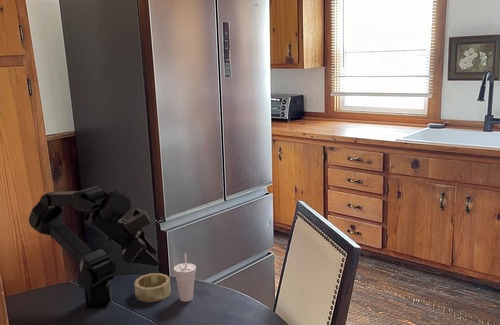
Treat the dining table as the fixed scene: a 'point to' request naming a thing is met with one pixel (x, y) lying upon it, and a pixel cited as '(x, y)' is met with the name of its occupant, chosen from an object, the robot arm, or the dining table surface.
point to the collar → (152, 287)
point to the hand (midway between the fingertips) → (157, 258)
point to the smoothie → (185, 280)
